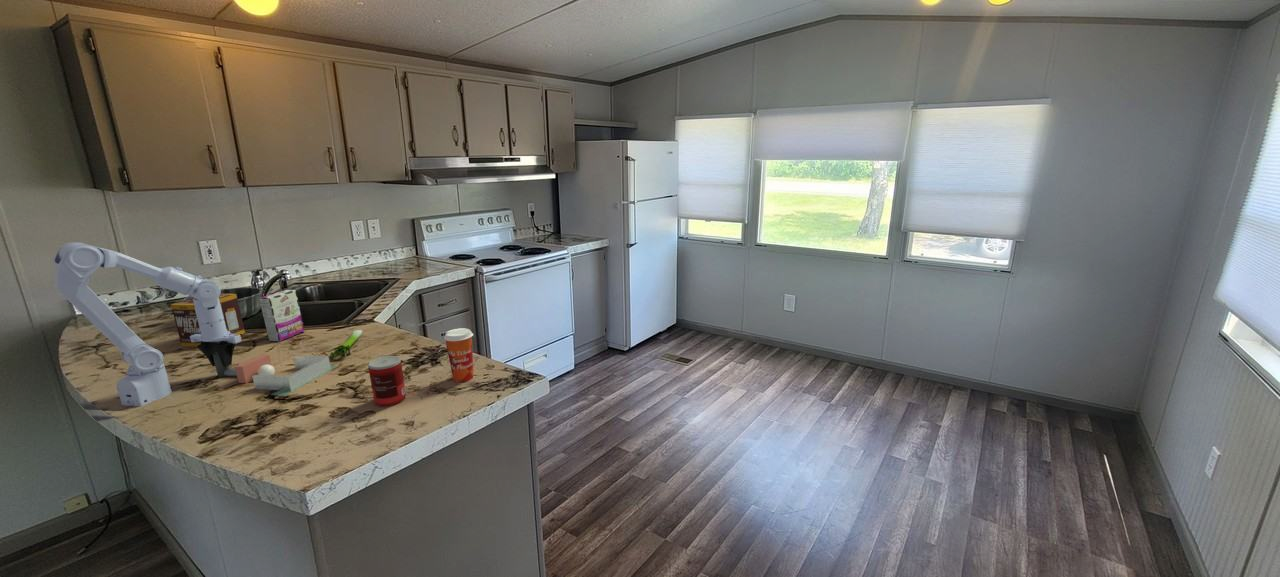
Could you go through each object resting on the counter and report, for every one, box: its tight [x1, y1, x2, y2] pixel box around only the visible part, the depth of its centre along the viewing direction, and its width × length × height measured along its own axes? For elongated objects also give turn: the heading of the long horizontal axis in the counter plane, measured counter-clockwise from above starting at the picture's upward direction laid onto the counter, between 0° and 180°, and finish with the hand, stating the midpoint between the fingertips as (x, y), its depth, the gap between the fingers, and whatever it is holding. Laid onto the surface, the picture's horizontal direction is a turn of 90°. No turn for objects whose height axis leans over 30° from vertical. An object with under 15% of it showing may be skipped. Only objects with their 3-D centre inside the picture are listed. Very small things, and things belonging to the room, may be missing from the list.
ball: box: [258, 364, 276, 375], centre depth 147 cm, size 4×4×4 cm
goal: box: [252, 355, 331, 392], centre depth 146 cm, size 15×11×4 cm
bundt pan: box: [180, 286, 264, 319], centre depth 210 cm, size 26×26×10 cm
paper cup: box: [443, 327, 474, 383], centre depth 145 cm, size 8×8×14 cm
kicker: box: [212, 352, 273, 384], centre depth 148 cm, size 9×13×7 cm
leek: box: [329, 329, 364, 361], centre depth 172 cm, size 6×7×30 cm
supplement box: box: [170, 293, 246, 348], centre depth 183 cm, size 10×15×16 cm
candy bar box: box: [259, 289, 306, 343], centre depth 184 cm, size 11×5×16 cm, turn 168°
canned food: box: [367, 355, 407, 407], centre depth 133 cm, size 8×8×11 cm
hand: (222, 365), depth 149 cm, fingers closed on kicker, 3 cm apart
